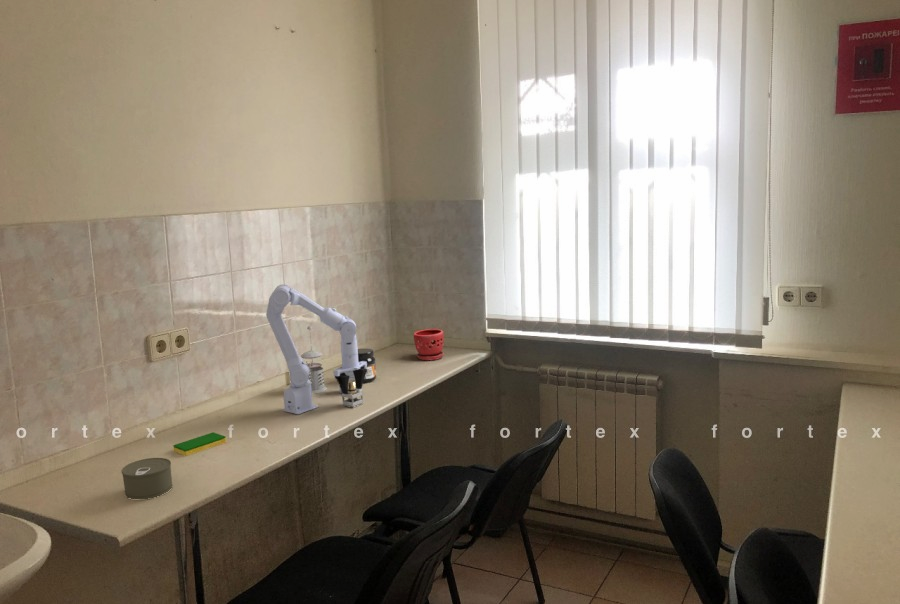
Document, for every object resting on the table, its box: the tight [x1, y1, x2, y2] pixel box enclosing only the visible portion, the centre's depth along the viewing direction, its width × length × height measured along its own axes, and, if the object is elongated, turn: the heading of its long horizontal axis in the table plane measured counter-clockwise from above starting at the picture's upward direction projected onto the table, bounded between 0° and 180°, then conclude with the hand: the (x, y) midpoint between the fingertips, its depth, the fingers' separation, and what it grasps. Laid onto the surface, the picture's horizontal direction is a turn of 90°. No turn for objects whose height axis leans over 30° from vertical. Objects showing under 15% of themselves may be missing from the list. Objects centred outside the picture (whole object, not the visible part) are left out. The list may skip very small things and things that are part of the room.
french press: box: [300, 325, 328, 394], centre depth 278 cm, size 10×12×25 cm
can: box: [121, 457, 174, 500], centre depth 193 cm, size 12×12×7 cm
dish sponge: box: [173, 431, 227, 457], centre depth 224 cm, size 7×14×2 cm, turn 139°
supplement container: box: [358, 347, 377, 384], centre depth 291 cm, size 10×10×12 cm
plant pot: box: [413, 328, 445, 361], centre depth 322 cm, size 13×13×12 cm
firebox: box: [341, 390, 364, 408], centre depth 260 cm, size 5×5×4 cm
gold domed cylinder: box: [347, 380, 358, 402], centre depth 259 cm, size 3×3×8 cm
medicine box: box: [338, 371, 363, 394], centre depth 276 cm, size 8×4×9 cm, turn 84°
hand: (352, 391), depth 259 cm, fingers open, 6 cm apart
